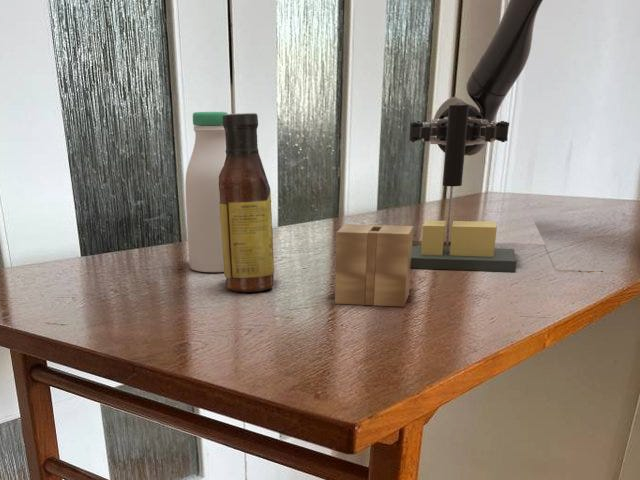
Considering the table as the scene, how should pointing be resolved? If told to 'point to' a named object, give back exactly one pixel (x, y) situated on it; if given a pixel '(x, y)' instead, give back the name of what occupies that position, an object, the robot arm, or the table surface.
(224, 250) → the sauce bottle
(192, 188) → the milk bottle
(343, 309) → the table surface
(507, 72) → the robot arm
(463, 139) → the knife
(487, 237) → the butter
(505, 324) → the table surface
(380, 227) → the cardboard box
